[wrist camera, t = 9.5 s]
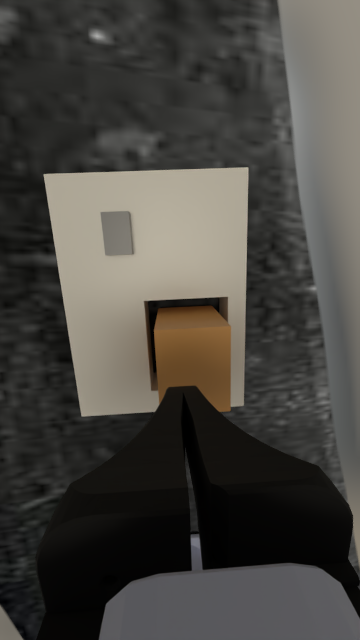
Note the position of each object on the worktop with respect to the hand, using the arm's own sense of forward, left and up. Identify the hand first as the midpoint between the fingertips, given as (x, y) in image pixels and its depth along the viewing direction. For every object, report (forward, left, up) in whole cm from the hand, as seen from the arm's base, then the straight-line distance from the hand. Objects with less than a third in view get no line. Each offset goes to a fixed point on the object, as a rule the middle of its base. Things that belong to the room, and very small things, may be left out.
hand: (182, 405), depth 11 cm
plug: (+1, -1, -9) cm, 9 cm away
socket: (+4, +1, -9) cm, 10 cm away
